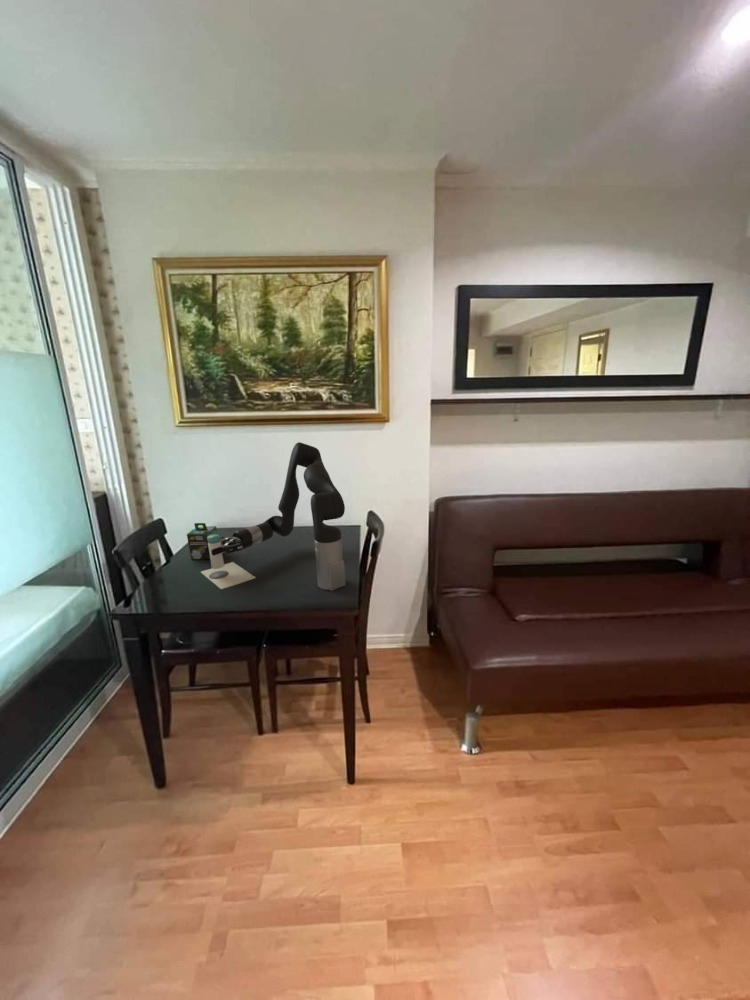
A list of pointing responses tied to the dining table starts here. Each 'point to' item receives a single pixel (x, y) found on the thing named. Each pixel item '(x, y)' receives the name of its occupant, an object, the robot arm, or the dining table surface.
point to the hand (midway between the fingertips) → (208, 551)
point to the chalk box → (200, 540)
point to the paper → (227, 575)
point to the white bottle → (214, 543)
